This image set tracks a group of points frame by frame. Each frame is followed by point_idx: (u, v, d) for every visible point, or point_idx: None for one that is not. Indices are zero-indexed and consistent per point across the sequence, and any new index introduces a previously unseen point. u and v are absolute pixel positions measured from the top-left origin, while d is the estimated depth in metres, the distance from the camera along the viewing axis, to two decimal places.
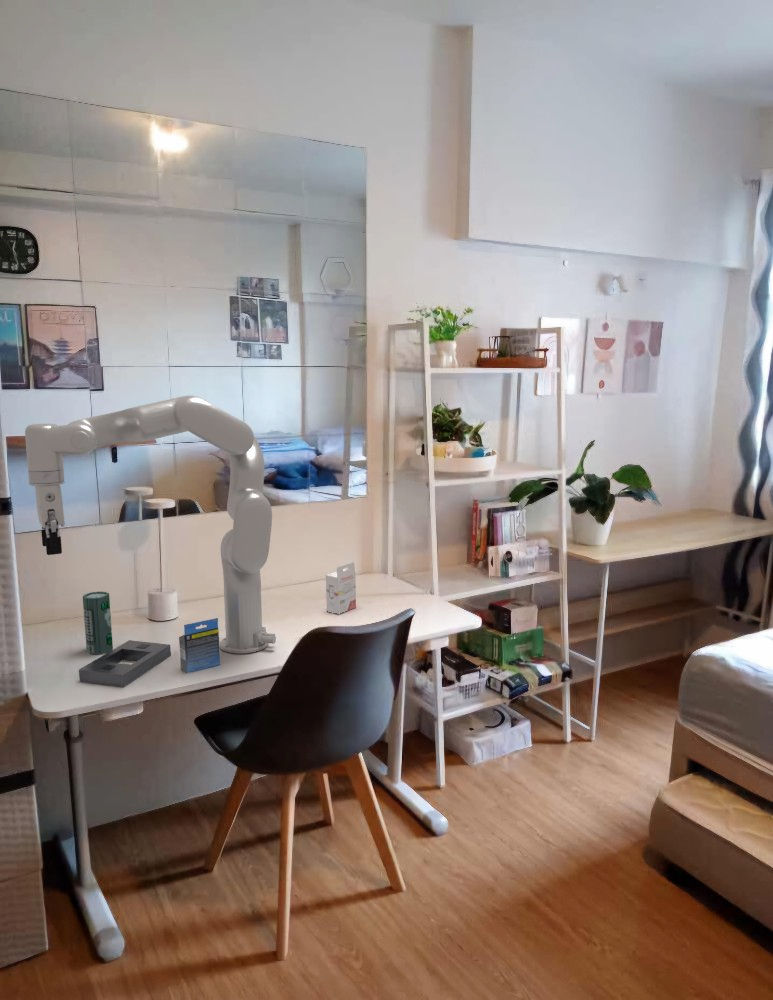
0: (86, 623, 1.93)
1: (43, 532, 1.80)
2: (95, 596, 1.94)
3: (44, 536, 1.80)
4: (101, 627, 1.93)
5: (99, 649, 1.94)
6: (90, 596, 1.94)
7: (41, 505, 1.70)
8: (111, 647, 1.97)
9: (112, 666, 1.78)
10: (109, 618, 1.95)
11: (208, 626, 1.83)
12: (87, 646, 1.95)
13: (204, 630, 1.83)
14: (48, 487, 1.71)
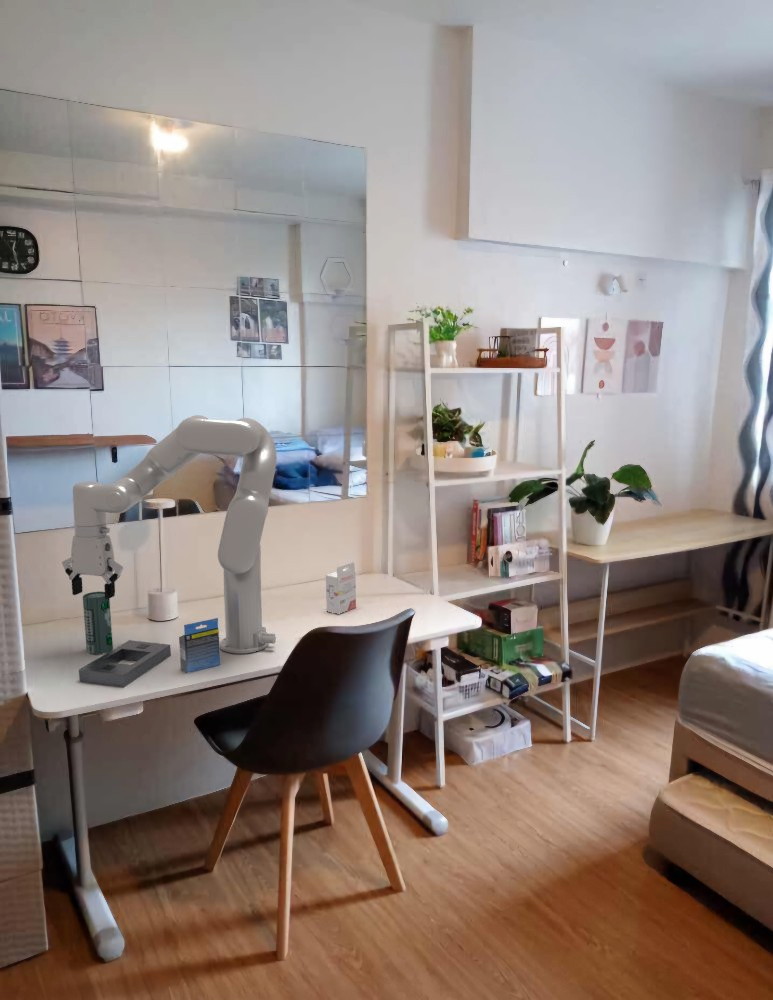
0: (86, 623, 1.93)
1: (75, 582, 1.94)
2: (95, 596, 1.94)
3: (75, 585, 1.94)
4: (101, 627, 1.93)
5: (99, 649, 1.94)
6: (90, 596, 1.94)
7: (102, 555, 1.89)
8: (111, 647, 1.97)
9: (112, 666, 1.78)
10: (109, 618, 1.95)
11: (208, 626, 1.83)
12: (87, 646, 1.95)
13: (204, 630, 1.83)
14: (105, 538, 1.90)
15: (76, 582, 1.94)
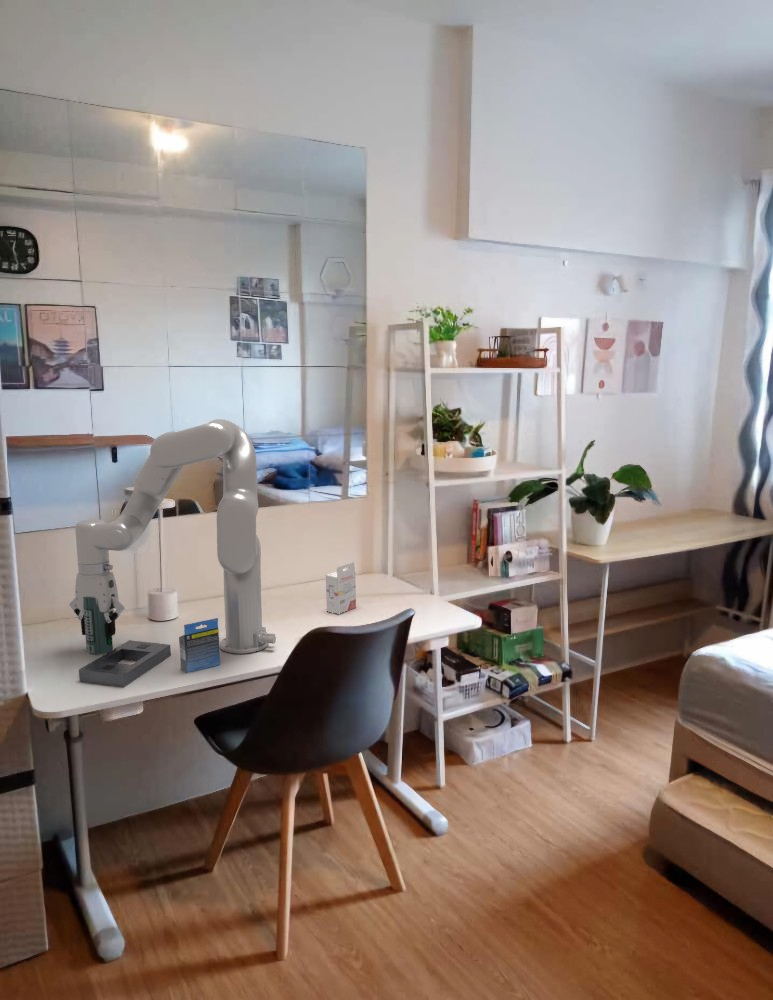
0: (86, 623, 1.93)
1: (84, 622, 1.95)
2: None
3: None
4: (101, 627, 1.93)
5: (99, 649, 1.94)
6: None
7: (106, 592, 1.91)
8: (111, 647, 1.97)
9: (112, 666, 1.78)
10: None
11: (208, 626, 1.83)
12: (87, 646, 1.95)
13: (204, 630, 1.83)
14: (109, 575, 1.92)
15: None
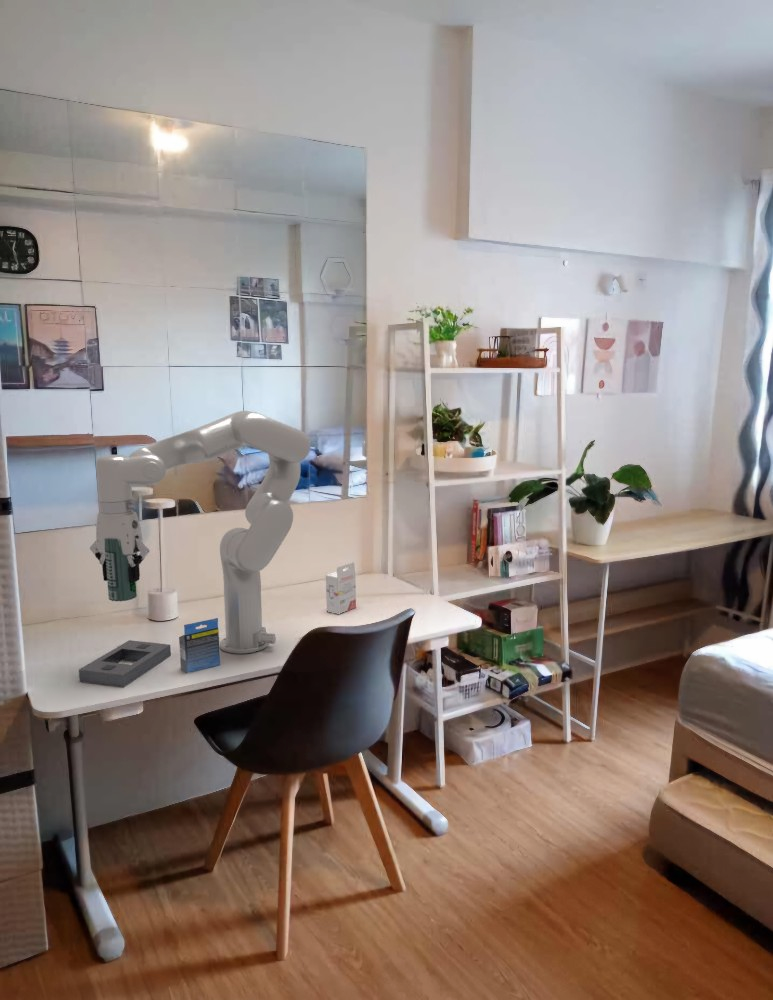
0: (108, 567, 1.79)
1: None
2: None
3: (106, 570, 1.81)
4: (124, 571, 1.79)
5: (122, 595, 1.79)
6: None
7: (129, 533, 1.76)
8: (135, 594, 1.82)
9: (112, 666, 1.78)
10: None
11: (208, 626, 1.83)
12: (109, 592, 1.80)
13: (204, 630, 1.83)
14: (132, 515, 1.77)
15: None
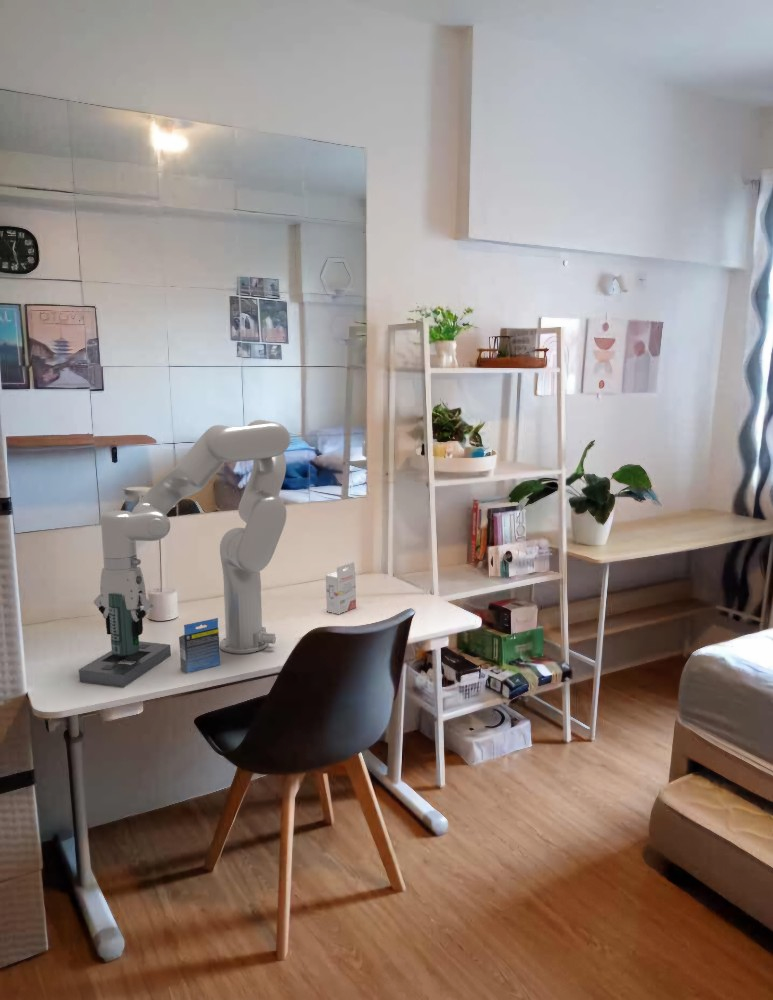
0: (111, 622, 1.81)
1: (109, 621, 1.83)
2: None
3: None
4: (128, 626, 1.81)
5: (125, 649, 1.81)
6: None
7: (133, 589, 1.78)
8: (138, 647, 1.84)
9: (112, 666, 1.78)
10: None
11: (208, 626, 1.83)
12: (112, 646, 1.82)
13: (204, 630, 1.83)
14: (136, 570, 1.79)
15: None
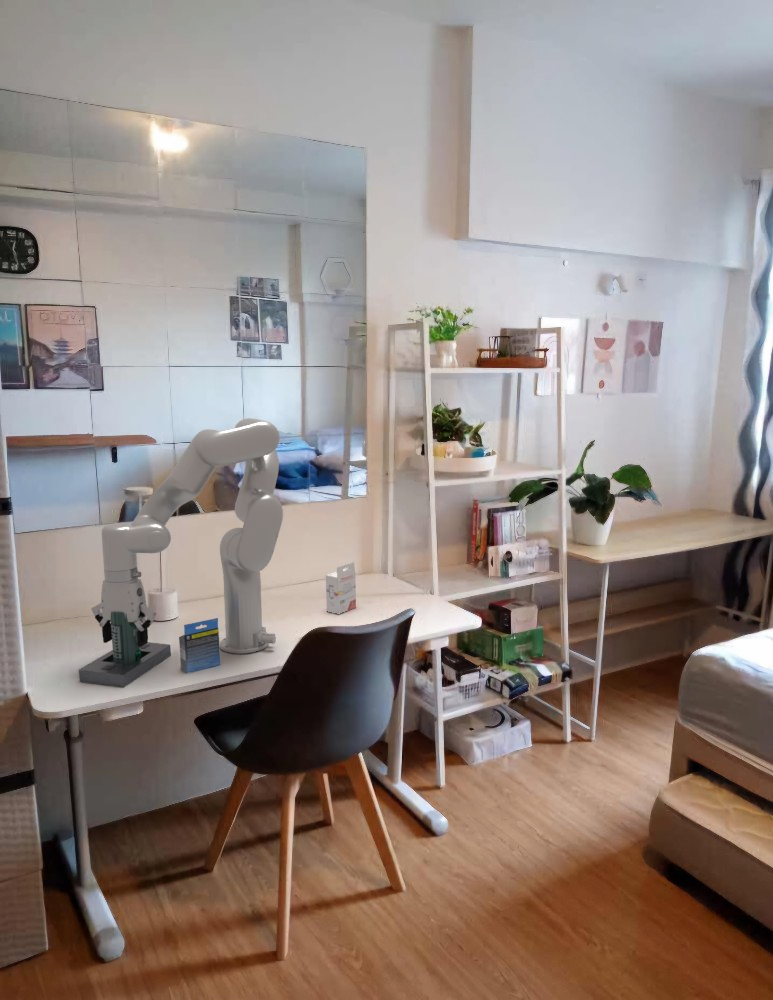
0: (114, 640, 1.81)
1: (105, 629, 1.83)
2: None
3: (106, 633, 1.84)
4: (130, 644, 1.81)
5: None
6: None
7: (134, 601, 1.79)
8: None
9: (112, 666, 1.78)
10: None
11: (208, 626, 1.83)
12: None
13: (204, 630, 1.83)
14: (137, 583, 1.80)
15: (107, 629, 1.84)
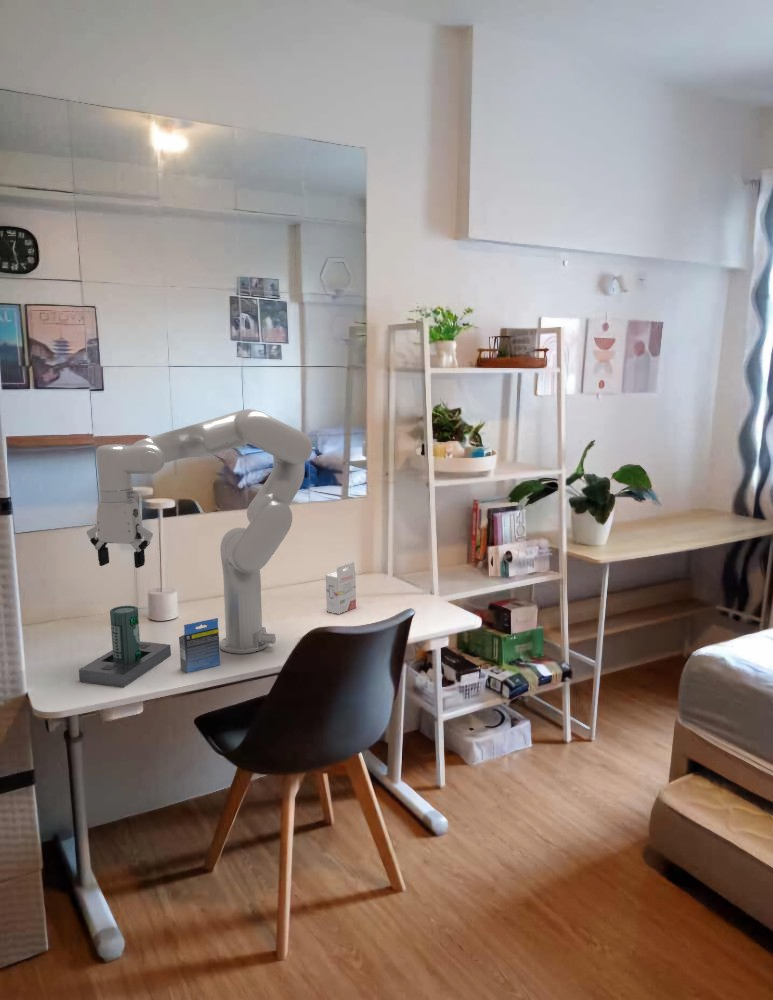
0: (114, 640, 1.81)
1: (101, 552, 1.83)
2: (123, 611, 1.83)
3: (102, 556, 1.83)
4: (130, 644, 1.81)
5: None
6: (118, 611, 1.83)
7: (130, 521, 1.78)
8: None
9: (112, 666, 1.78)
10: (138, 634, 1.83)
11: (208, 626, 1.83)
12: None
13: (204, 630, 1.83)
14: (133, 503, 1.79)
15: (103, 552, 1.83)
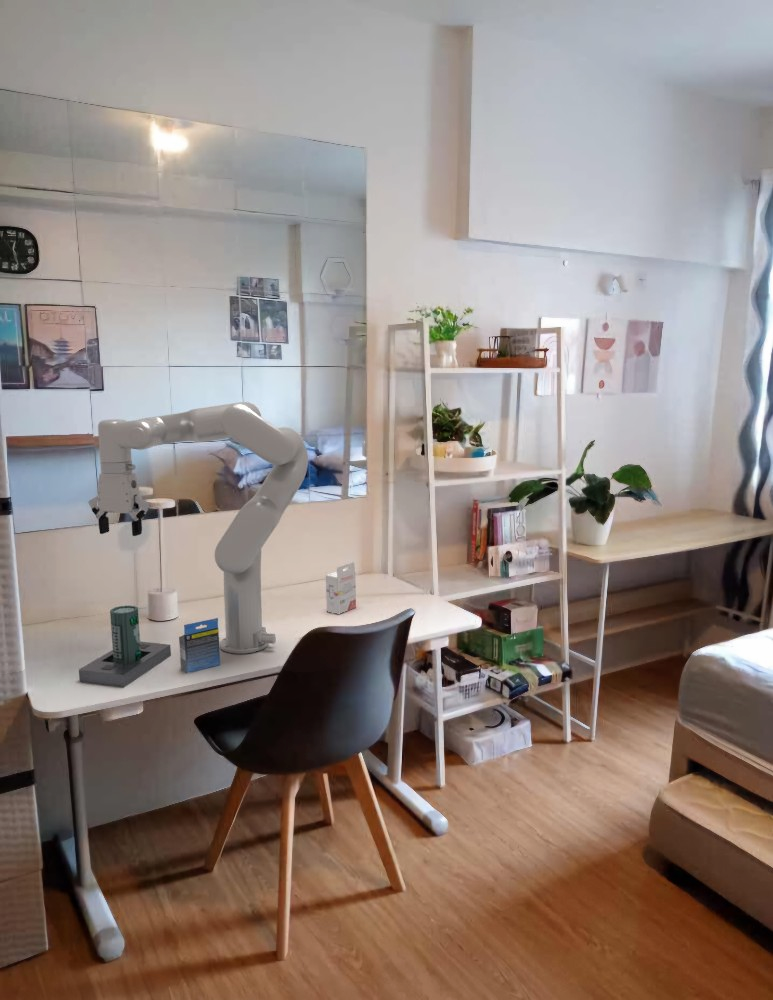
0: (114, 639, 1.81)
1: (102, 521, 1.94)
2: (123, 611, 1.83)
3: (102, 524, 1.95)
4: (130, 644, 1.81)
5: None
6: (118, 611, 1.83)
7: (129, 492, 1.90)
8: None
9: (112, 666, 1.78)
10: (138, 634, 1.84)
11: (208, 626, 1.83)
12: None
13: (204, 630, 1.83)
14: (131, 475, 1.91)
15: (103, 521, 1.95)
